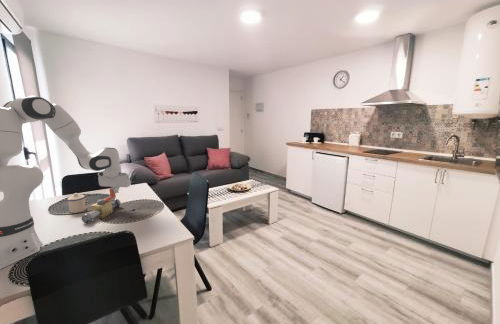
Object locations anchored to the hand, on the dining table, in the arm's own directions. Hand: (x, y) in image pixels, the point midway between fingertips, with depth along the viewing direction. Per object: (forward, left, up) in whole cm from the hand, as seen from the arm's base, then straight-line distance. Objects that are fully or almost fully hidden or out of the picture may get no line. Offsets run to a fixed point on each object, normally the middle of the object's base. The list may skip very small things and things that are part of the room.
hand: (116, 192), depth 141 cm
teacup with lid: (-6, +25, -11) cm, 28 cm away
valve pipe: (-10, +3, -11) cm, 15 cm away
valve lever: (-6, +3, -3) cm, 7 cm away
